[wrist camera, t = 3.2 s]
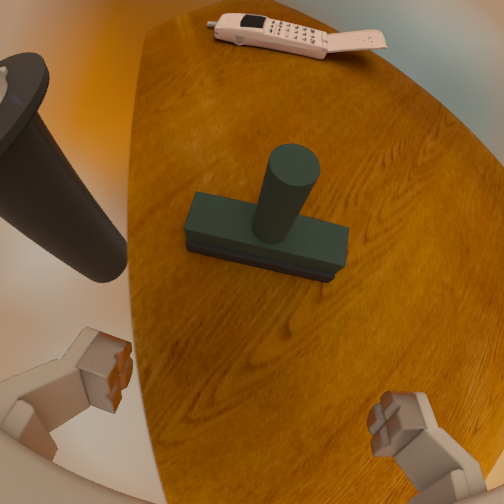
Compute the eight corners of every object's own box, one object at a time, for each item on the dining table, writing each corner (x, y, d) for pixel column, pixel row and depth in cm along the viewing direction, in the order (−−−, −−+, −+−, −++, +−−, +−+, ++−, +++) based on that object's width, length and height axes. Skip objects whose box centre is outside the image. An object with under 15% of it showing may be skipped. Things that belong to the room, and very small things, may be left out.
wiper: (187, 251, 25) (163, 170, 14) (200, 208, 26) (190, 111, 15) (328, 283, 25) (403, 229, 14) (333, 239, 27) (400, 166, 15)
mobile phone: (390, 49, 30) (198, 7, 29) (374, 79, 35) (198, 42, 34) (382, 30, 32) (210, -7, 31) (369, 58, 37) (209, 24, 36)
